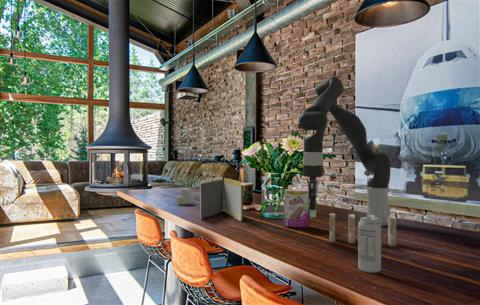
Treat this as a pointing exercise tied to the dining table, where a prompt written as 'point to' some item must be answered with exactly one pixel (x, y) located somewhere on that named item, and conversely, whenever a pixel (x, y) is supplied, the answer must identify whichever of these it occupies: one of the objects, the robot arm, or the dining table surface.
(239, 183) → the grey folded panel
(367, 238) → the energy drink can
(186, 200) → the air freshener
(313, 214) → the domino
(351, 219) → the domino
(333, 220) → the domino
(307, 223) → the candy bar box
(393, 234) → the domino
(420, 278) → the dining table surface
